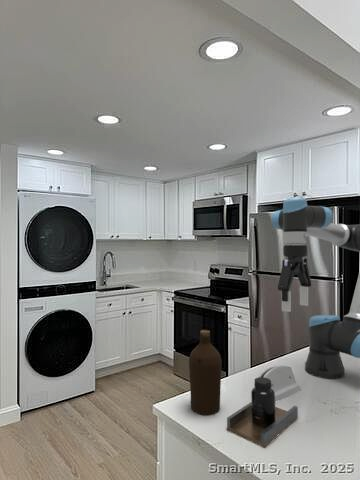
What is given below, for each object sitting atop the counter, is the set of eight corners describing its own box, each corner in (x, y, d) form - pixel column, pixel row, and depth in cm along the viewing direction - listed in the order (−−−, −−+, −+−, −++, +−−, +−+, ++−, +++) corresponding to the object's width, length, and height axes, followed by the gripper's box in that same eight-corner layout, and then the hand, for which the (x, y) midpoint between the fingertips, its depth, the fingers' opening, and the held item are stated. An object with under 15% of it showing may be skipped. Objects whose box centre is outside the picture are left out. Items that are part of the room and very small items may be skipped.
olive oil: (225, 415, 104) (224, 335, 104) (191, 417, 103) (191, 336, 103) (218, 399, 114) (217, 326, 114) (187, 401, 113) (186, 327, 113)
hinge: (273, 403, 111) (264, 372, 114) (262, 403, 115) (254, 372, 118) (301, 389, 121) (293, 361, 124) (291, 390, 125) (283, 362, 128)
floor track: (262, 405, 110) (262, 394, 110) (297, 418, 102) (297, 406, 102) (227, 430, 96) (227, 417, 96) (264, 447, 87) (264, 434, 87)
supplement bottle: (259, 412, 103) (259, 373, 104) (279, 420, 99) (279, 380, 99) (247, 421, 99) (246, 380, 99) (267, 430, 94) (267, 387, 94)
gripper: (288, 245, 100) (289, 315, 100) (320, 244, 118) (321, 304, 118) (266, 244, 105) (266, 312, 105) (300, 244, 123) (300, 301, 123)
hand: (295, 308), depth 112 cm, fingers open, 13 cm apart
